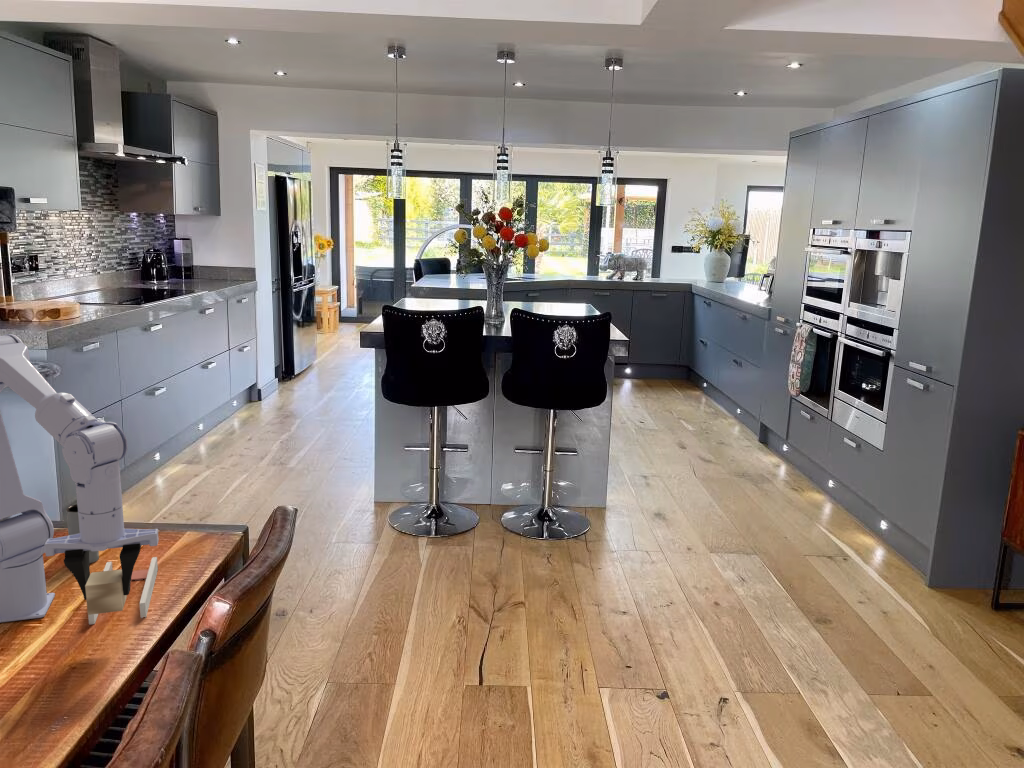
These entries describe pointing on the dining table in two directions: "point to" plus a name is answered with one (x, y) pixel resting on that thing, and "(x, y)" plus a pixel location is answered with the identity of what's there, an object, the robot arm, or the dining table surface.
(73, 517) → the grey hollow tube
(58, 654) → the dining table surface
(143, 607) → the channel
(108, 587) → the block
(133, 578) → the pad
